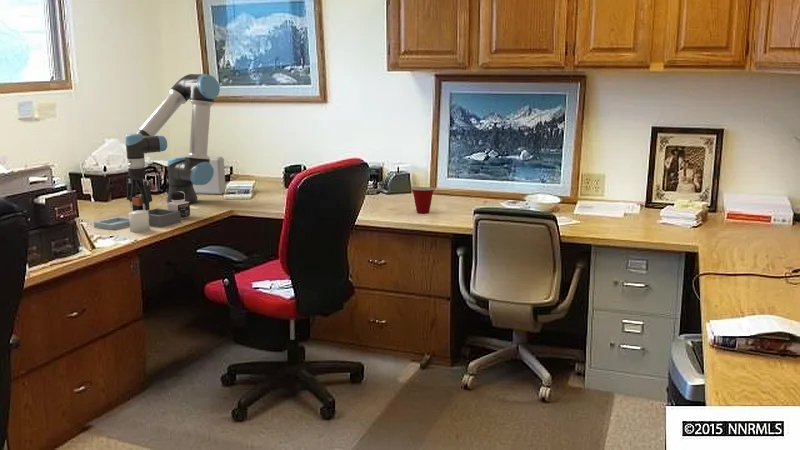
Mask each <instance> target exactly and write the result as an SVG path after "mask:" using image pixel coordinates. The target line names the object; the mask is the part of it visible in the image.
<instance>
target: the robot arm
mask: <svg viewBox="0 0 800 450" xmlns="http://www.w3.org/2000/svg"><path fill="white" fill-rule="evenodd" d="M220 90H221V88H220V84H219V81H218V80H217V79H216V78H215V76H214V75H211V74H206V73H196V74H195V73H189V74H185V75H184V76H182V77H181V78H180V79H178V81H177V82H175V84H174V85H172V87H171V88H170V89H169V91H168V95H167V96H166V97H165V99H163V101H162V102H161V103H159V105H158V107H157V108H155V110H153V112H152V113H151V115H150V116H149V117H148V118H147V120H146V121H145V122H143V124H142V125H141V126H140V128H139V129H138V130H137V131H136V132H135V133H127V134H126V135H125V149H126V150H125V151H126V161H127V167H128V169H127V171H128V173H127V174H128V177H130V178H126V179H125V183H126V200H127V201H129V202H130V209H131V211H133V204H132V197H135V196H136V195H137V193H138V190H139V192H140V195H141V196H142V198H143V201H144V202H143V210H146V211H147V210H151V209H150V203H152V202H153V197H152V190H151V180H146V178H145V176H146V174H147V172H146V167H145V166H146V161H145V154H151V153H161V152H165V151H166V150H167V148H168V140H167V138H166V137H165V136H164V135H157V134H158V132H160V131H161V129H162V128H163V127H164V126H165V124H166V123H167V122H168V121H169V120H170V118H171V117H172V116H173V115H174V114H175V113H176V111H177V110H178V109H179V108H180V107H181V106H182V105H185V104H186V103H187V102H188V100H189V102H190V103H191V105H192V106H191V107H192V109H191V110H192V111H191V121H190V123H191V124H190V135H189V137H190V138H189V150H188V154H186V156H181V157H174V158H169V159H168V160H167V165H166V167H167V173H168V175H167V176H168V184H169V185H168V187H169V189H168V193H167V196H166V204H167V205H168V203H170V202H172V201H171V193H173V192H177V191H181V192H184V193H185V201H186V202H189V203H190V205H191V204H195V203H197V202H198V196H197V194H196V193H195V190H194V188H193V184H195V185H205V184H207V183H208V182H209V181H211V179H212V177H213V174H214V169H213V167H212V165H211V164H210V158H209V157H208V146H209V145H208V144H209V131H210V120H211V119H210V118H211V107H212V105H214V103H215V99H216V98H217V97H218V96H219V94H220Z"/></svg>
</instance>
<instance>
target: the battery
mask: <svg viewBox="0 0 800 450" xmlns="http://www.w3.org/2000/svg"><path fill="white" fill-rule="evenodd" d="M143 202H144V201H143V198H142V196H141V194H136V196H135V197H132V204H133V211H136V210H143Z"/></svg>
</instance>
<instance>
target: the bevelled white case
mask: <svg viewBox="0 0 800 450" xmlns="http://www.w3.org/2000/svg"><path fill="white" fill-rule="evenodd" d="M207 156H208V155H207ZM208 157H209V158H210V164H211V165H212V167H213V169H214V174H213V177H212V179H211V181H209V182H208V183H207V184H205V185H195V184H193V188H194V190H195V193H196V195H215V194H221V195H223V194H222V193H224V192H225V189H226V188H227V187H226V172H225V160H224V158H223V156H215V155H214V156H210V155H209V156H208ZM226 190H227V189H226ZM225 193H226V192H225ZM225 193H224V194H225Z"/></svg>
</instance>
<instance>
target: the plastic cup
mask: <svg viewBox="0 0 800 450" xmlns="http://www.w3.org/2000/svg"><path fill="white" fill-rule="evenodd" d="M411 190H412V194H413V199H414V203H415V204H414V206H415V210H416V213H417V214H422V215H423V214H424V215H425V214H429V213H430V210H431V205H432V199H433V193H434V192H435V188H434V187H429V186H428V187H426V186H414V187H411Z"/></svg>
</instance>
